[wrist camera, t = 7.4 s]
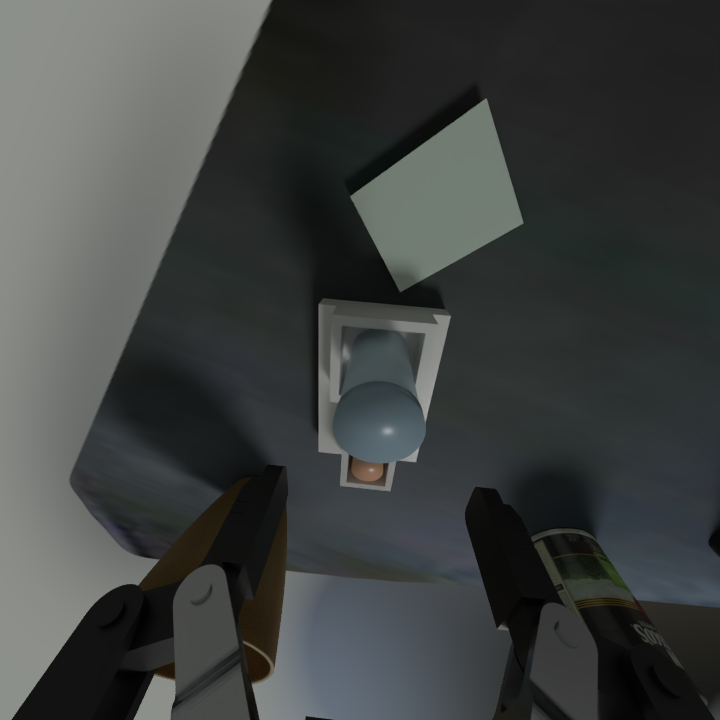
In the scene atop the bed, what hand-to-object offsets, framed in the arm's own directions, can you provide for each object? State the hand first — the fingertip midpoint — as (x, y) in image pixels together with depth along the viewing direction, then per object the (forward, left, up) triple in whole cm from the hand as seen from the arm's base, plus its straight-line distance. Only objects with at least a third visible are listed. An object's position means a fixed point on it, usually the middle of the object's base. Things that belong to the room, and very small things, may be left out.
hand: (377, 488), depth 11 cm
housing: (0, +5, -16) cm, 16 cm away
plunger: (0, +11, -13) cm, 17 cm away
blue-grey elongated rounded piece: (0, 0, -14) cm, 14 cm away
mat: (-3, -11, -16) cm, 20 cm away
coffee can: (-29, +30, -16) cm, 44 cm away
